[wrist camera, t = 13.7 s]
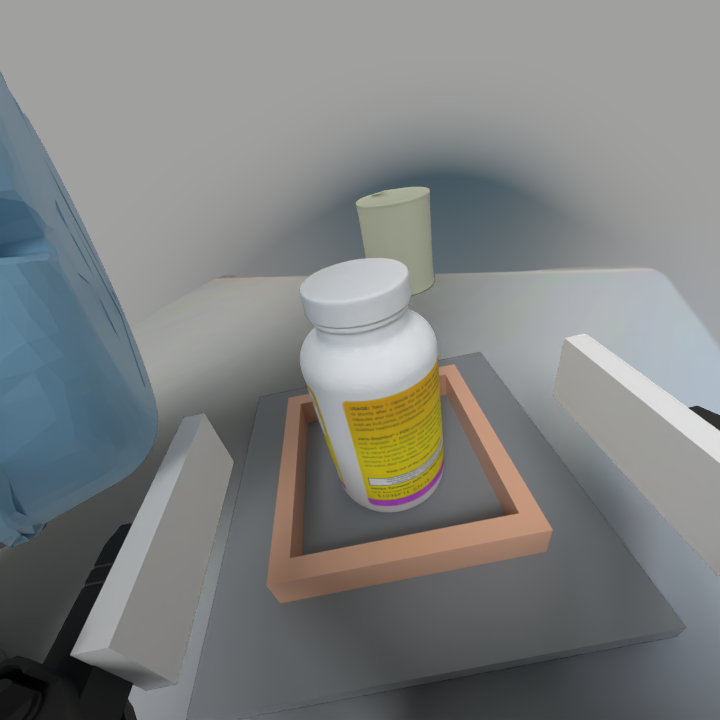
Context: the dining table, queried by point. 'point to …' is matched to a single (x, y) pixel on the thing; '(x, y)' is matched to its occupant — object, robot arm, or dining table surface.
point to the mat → (419, 594)
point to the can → (400, 231)
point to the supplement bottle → (374, 382)
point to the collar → (410, 552)
